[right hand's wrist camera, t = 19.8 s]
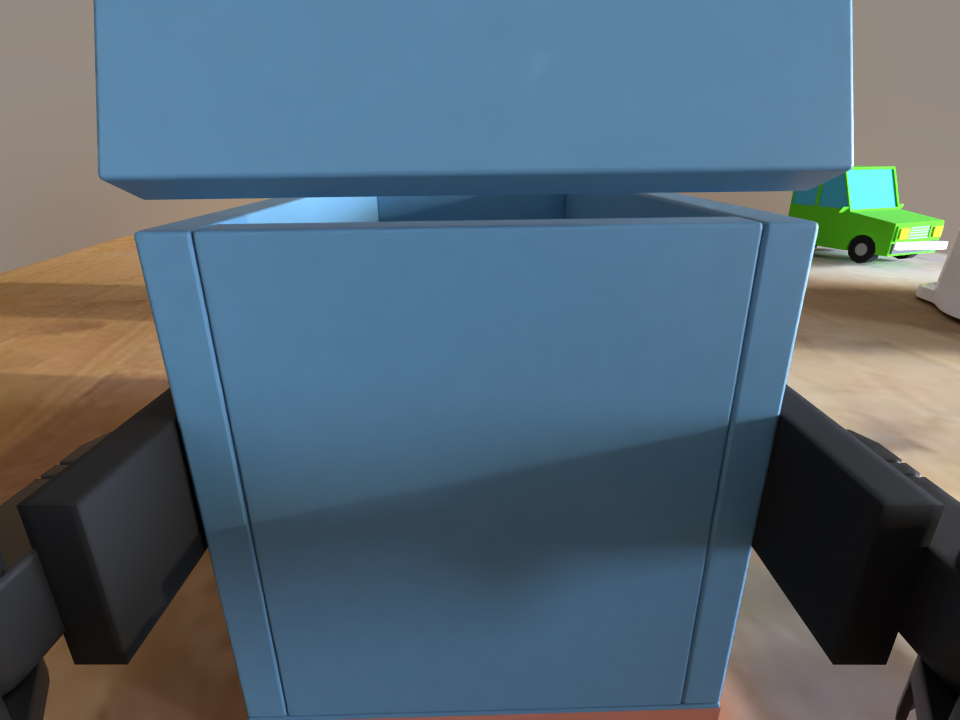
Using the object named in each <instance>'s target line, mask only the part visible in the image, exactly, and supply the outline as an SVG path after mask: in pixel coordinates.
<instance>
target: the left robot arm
mask: <svg viewBox="0 0 960 720" xmlns="http://www.w3.org/2000/svg"><path fill="white" fill-rule="evenodd" d="M947 244H948V242H947V241H935V242H896V246H895V250H919V249H946V247H947ZM915 296H917V297H919V298H921V299H924V300H927V301H929V302H932V303H934V304H935V305H936V306H937V307H938V309H940V310H941V311H942V312H944V313H946V314H948V315H950V316H953V317H955V318H958V319H960V226H959V228H958V231H957V233H956V236H955V238H954V241H953V243H952V246H951V248H950V251H949V253H948V256H947V259H946V261H945V264H944V266H943V269H942V271H941V274H940V276H939V279H938V282H937V283H923V284H920V285H919V286H918V289H917V291H916V293H915Z"/></svg>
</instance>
